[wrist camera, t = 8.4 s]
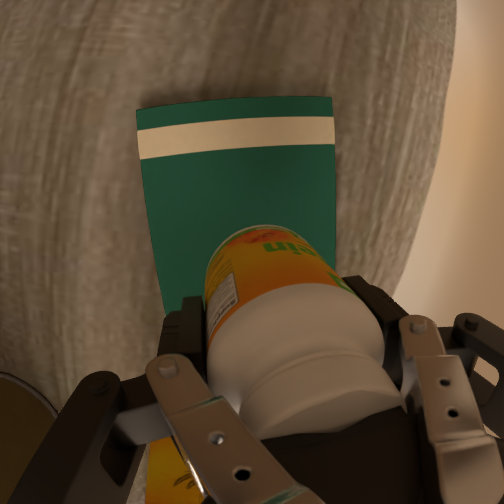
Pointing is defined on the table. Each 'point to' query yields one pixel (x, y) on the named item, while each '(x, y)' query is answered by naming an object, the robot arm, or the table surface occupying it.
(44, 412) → the canister
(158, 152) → the towel
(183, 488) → the beer can
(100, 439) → the robot arm
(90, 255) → the table surface
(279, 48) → the table surface
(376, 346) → the supplement bottle
